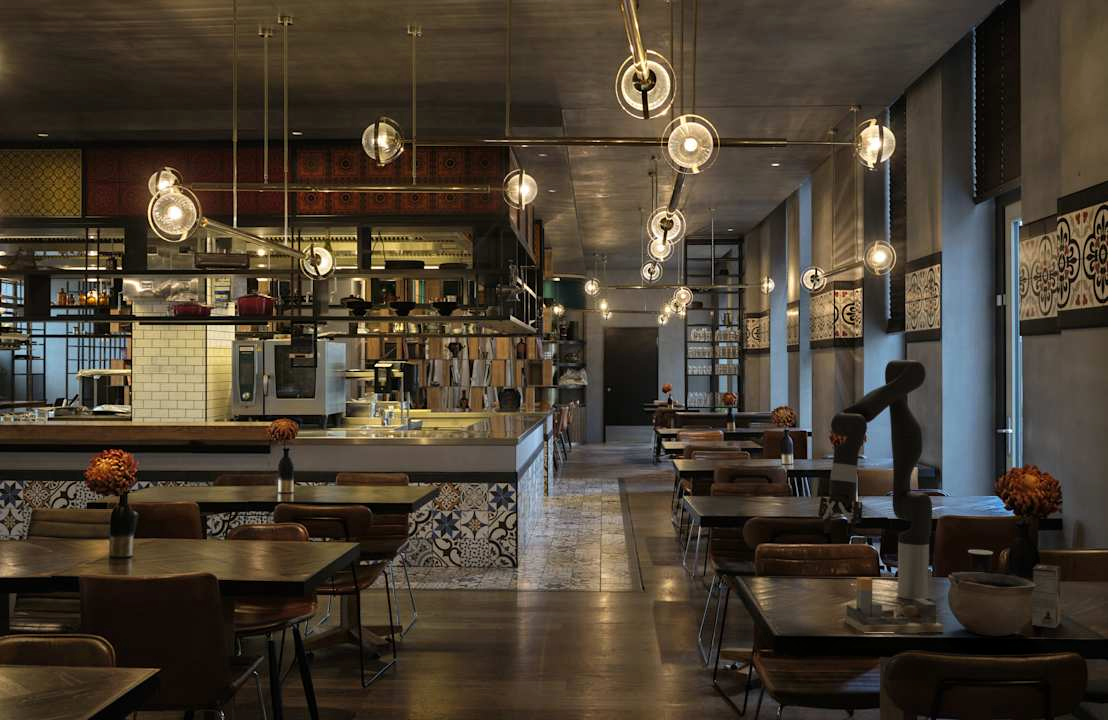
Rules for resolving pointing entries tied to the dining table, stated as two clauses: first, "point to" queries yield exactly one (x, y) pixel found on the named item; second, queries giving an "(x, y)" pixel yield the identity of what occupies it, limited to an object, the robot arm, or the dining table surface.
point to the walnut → (910, 611)
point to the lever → (867, 599)
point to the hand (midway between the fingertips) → (837, 534)
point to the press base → (897, 620)
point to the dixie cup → (980, 560)
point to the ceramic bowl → (990, 602)
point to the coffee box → (1046, 595)
